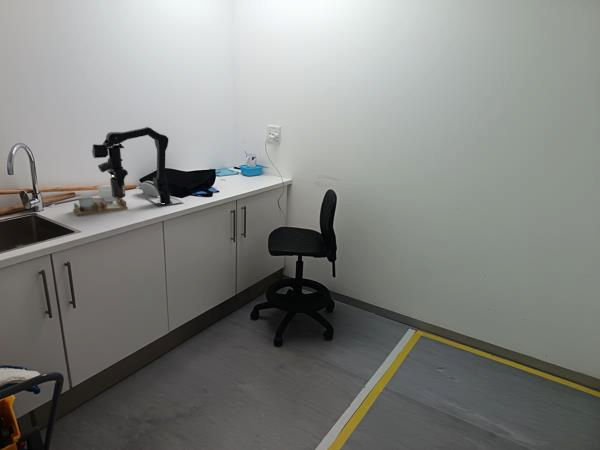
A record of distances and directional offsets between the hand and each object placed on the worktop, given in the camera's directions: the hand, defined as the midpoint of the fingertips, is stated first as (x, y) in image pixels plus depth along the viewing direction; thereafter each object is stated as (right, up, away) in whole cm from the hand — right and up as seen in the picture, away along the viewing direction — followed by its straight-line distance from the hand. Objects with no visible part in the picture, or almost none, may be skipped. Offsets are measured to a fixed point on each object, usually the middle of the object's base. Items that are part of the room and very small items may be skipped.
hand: (117, 185), depth 218 cm
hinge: (+6, -3, +35) cm, 36 cm away
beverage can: (0, -6, +2) cm, 7 cm away
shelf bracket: (-12, -8, +18) cm, 23 cm away
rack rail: (-9, -13, +1) cm, 16 cm away
